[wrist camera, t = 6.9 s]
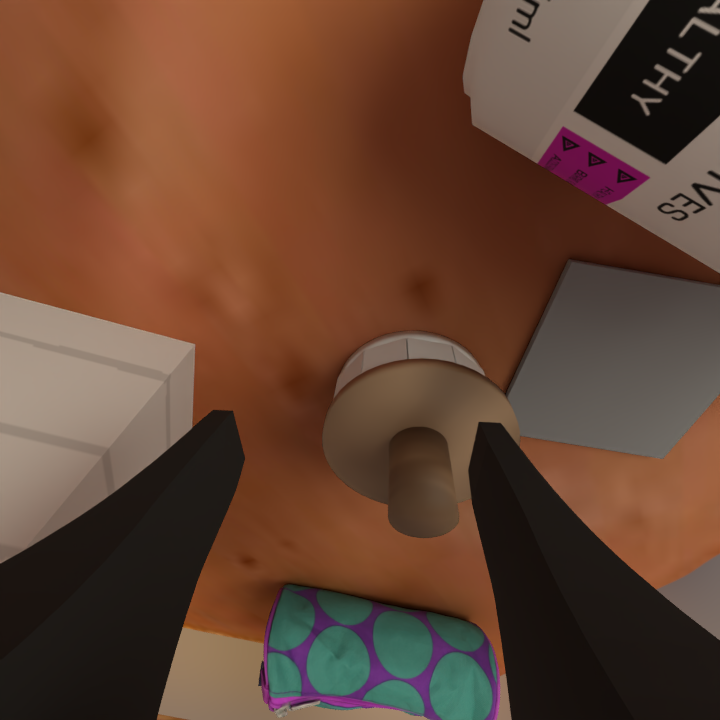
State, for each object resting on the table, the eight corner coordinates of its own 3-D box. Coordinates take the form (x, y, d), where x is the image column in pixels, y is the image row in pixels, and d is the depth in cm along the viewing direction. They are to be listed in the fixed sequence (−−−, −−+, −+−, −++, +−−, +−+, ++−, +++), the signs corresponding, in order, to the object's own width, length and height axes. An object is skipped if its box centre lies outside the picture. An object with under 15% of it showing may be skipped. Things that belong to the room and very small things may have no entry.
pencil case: (274, 607, 41) (245, 730, 33) (280, 565, 36) (248, 697, 28) (463, 640, 42) (480, 766, 34) (494, 602, 37) (522, 741, 29)
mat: (793, 297, 18) (800, 301, 18) (659, 454, 24) (662, 458, 24) (568, 258, 18) (572, 261, 18) (490, 426, 24) (491, 431, 24)
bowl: (508, 345, 21) (526, 384, 18) (460, 455, 26) (468, 500, 23) (347, 318, 21) (339, 353, 18) (330, 434, 26) (321, 476, 23)
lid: (545, 372, 17) (590, 451, 13) (485, 505, 23) (504, 589, 19) (328, 346, 18) (309, 417, 14) (321, 485, 23) (305, 564, 19)
